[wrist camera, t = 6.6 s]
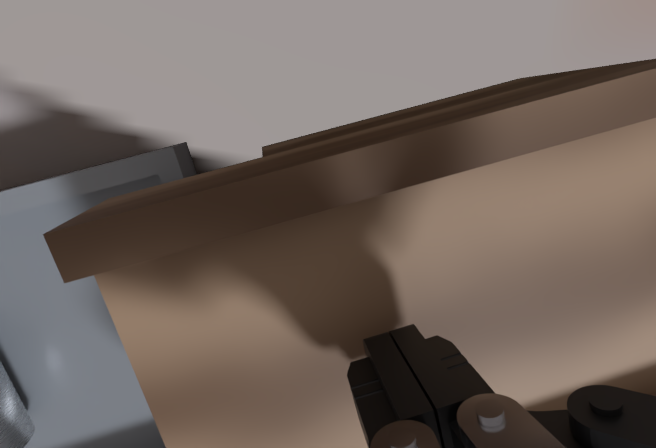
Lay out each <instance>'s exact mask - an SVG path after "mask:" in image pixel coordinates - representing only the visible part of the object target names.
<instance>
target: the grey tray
mask: <svg viewBox="0 0 656 448" xmlns="http://www.w3.org/2000/svg"><path fill="white" fill-rule="evenodd" d="M194 175H197V173H196V170H195V167H194V164H193V161H192V158H191V155H190V152H189V149H188V146H187V143H186V142H185V143H181V144H177V145H173V146H169V147H165V148H162V149H158V150H154V151H150V152H146V153H143V154H139V155H135V156H131V157H127V158H123V159H120V160H116V161H112V162H108V163H104V164H100V165H97V166H93V167H89V168H85V169H81V170H78V171H74V172H70V173H66V174H62V175H58V176H55V177H51V178H47V179H43V180H39V181H35V182H32V183H28V184H24V185H20V186H16V187H13V188H9V189H5V190H1V191H0V361H1V363H2V365H3V367H4V369H5V370H6V372H7V374H8V376H9V378H10V380H11V382H12V384H13V386H14V387H15V389H16V391H17V393H18V395H19V397H20V399H21V401H22V403H23V404H24V406H25V408H26V410H27V412H28V414H29V416H30V418H31V420H32V421H33V423H34V425H35V431H34V434H33V436H32V438H31V439H30V441H29V442H28V443H27V445H26V446H25V447H24V448H166V447H165V444H164V442H163V439H162V437H161V435H160V432H159V430H158V427H157V425H156V423H155V420H154V418H153V416H152V413H151V411H150V408H149V406H148V404H147V401H146V399H145V396H144V394H143V392H142V389H141V387H140V384H139V382H138V380H137V377H136V375H135V372H134V370H133V368H132V365H131V363H130V361H129V358H128V356H127V353H126V351H125V349H124V346H123V344H122V341H121V339H120V337H119V334H118V332H117V329H116V327H115V325H114V322H113V320H112V317H111V315H110V313H109V310H108V308H107V306H106V303H105V301H104V298H103V296H102V294H101V291H100V289H99V286H98V284H97V282H96V279H95V277H94V275H93V276H89V277H86V278H82V279H79V280H75V281H71V282H68V283H64V282H63V279H62V277H61V275H60V273H59V270H58V268H57V266H56V263H55V261H54V259H53V257H52V254H51V252H50V250H49V247H48V245H47V243H46V241H45V238H44V236H43V234H44V233H46V232H48V231H50V230H52V229H54V228H55V227H57V226H59V225H61V224H63V223H65V222H66V221H68V220H70V219H72V218H74V217H76V216H77V215H79V214H81V213H83V212H85V211H87V210H88V209H90V208H92V207H94V206H96V205H98V204H99V203H101V202H103V201H105V200H107V199H109V198H112V197H116V196H120V195H123V194H127V193H131V192H135V191H138V190H142V189H146V188H149V187H153V186H157V185H161V184H164V183H168V182H172V181H176V180H179V179H183V178H187V177H191V176H194Z"/></svg>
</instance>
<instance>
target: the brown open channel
mask: <svg viewBox="0 0 656 448" xmlns="http://www.w3.org/2000/svg"><path fill="white" fill-rule="evenodd" d="M262 151H263V152H262V153H263V157H262V158H258V159H254V160H250V161H247V162H243V163H239V164H235V165H232V166H228V167H224V168H220V169H217V170H213V171H209V172H205V173H202V174H198V175H194V176H191V177H187V178H183V179H179V180H176V181H172V182H168V183H164V184H161V185H157V186H153V187H149V188H146V189H142V190H138V191H135V192H131V193H127V194H123V195H120V196H116V197H112V198H109V199H107V200H105V201H103V202H101V203H99V204H98V205H96V206H94V207H92V208H90V209H88V210H87V211H85V212H83V213H81V214H79V215H77V216H76V217H74V218H72V219H70V220H68V221H66V222H65V223H63V224H61V225H59V226H57V227H55V228H54V229H52V230H50V231H48V232H46V233H44V234H43V236H44V238H45V241H46V243H47V245H48V247H49V250H50V252H51V254H52V257H53V259H54V261H55V263H56V266H57V268H58V270H59V273H60V275H61V277H62V279H63V282H64V283H68V282H71V281H75V280H79V279H82V278H86V277H89V276H93V275H94V277H95V279H96V282H97V284H98V286H99V289H100V291H101V294H102V296H103V298H104V301H105V303H106V306H107V308H108V310H109V313H110V315H111V317H112V320H113V322H114V325H115V327H116V329H117V332H118V334H119V337H120V339H121V341H122V344H123V346H124V349H125V351H126V353H127V356H128V358H129V361H130V363H131V365H132V368H133V370H134V372H135V375H136V377H137V380H138V382H139V384H140V387H141V389H142V392H143V394H144V396H145V399H146V401H147V404H148V406H149V408H150V411H151V413H152V416H153V418H154V420H155V423H156V425H157V427H158V430H159V432H160V435H161V437H162V439H163V442H164V444H165V447H166V448H368V446H367V443H366V440H365V436H364V434H363V430H362V427H361V424H360V421H359V418H358V414H357V410H356V407H355V403H354V399H353V396H352V392H351V389H350V385H349V381H348V378H347V373H348V369H349V366H350V362H353V361H356V360H359V359H363V358H366V357H367V356H366V353H365V349H364V345H363V339H366V338H369V337H372V336H375V335H379V334H382V333H385V332H388V333H389V331H391V330H395V329H398V328H401V327H404V326H408V325H411V324H414V325H415V326H416V327H417V329H418V330H419V331H420V333H421V334H422V335H423V337H424V338H425V339H427V338H430V337H433V336H436V335H438V336H440V337H442V338H444V339H446V340H449V341H451V342H452V343H453V344H454V345H455V346H456V347H457V349H458V350H459V351H460V352H461V354H462V355H463V356H464V357H465V358H466V359H467V360H468V362H469V364H471V365H472V366H473V367H474V369H475V370H476V371H477V372H478V373H479V375H480V376H481V377H482V378H483V379H484V380H485V382H486V383H487V384H488V385H489V386H490V388H491V389H492V390H493V391H494V392H495V393H496V394H501V395H504V396H507V397H510V398H512V399H514V400H515V401H517V402H518V403H519V404H520V405H521V406H522V407H523V408H524V409H525V410H528V411H552V410H567V400H568V397H569V396H570V394H571V393H573V392H574V391H575V390H577V389H579V388H582V387H585V386H590V385H608V386H614V387H618V388H622V389H627V390H631V391H635V392H640V393H644V394H648V395H653V396H656V59H652V60H644V61H637V62H630V63H623V64H616V65H609V66H602V67H596V68H589V69H582V70H575V71H568V72H561V73H554V74H547V75H541V76H533V77H526V78H520V79H516V80H512V81H508V82H505V83H501V84H497V85H493V86H490V87H486V88H483V89H478V90H474V91H471V92H467V93H463V94H459V95H456V96H452V97H448V98H445V99H441V100H437V101H433V102H429V103H426V104H422V105H418V106H415V107H411V108H407V109H403V110H399V111H396V112H392V113H388V114H384V115H380V116H377V117H373V118H369V119H366V120H362V121H358V122H355V123H351V124H347V125H343V126H339V127H336V128H332V129H328V130H325V131H321V132H317V133H313V134H309V135H305V136H301V137H298V138H294V139H290V140H287V141H283V142H279V143H275V144H271V145H268V146H264V147H262Z"/></svg>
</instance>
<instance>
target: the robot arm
mask: <svg viewBox="0 0 656 448" xmlns="http://www.w3.org/2000/svg"><path fill="white" fill-rule="evenodd" d="M363 345H364V349H365V353H366V356H367V357H366V358H363V359H359V360H356V361H353V362H350V366H349V369H348V373H347V378H348V381H349V385H350V389H351V392H352V396H353V399H354V403H355V407H356V410H357V414H358V418H359V421H360V424H361V427H362V430H363V434H364V436H365V440H366V443H367V446H368V448H656V396H653V395H648V394H644V393H640V392H635V391H631V390H627V389H622V388H618V387H614V386H608V385H590V386H585V387H582V388H579V389H577V390H575V391H574V392H573V393H571V394H570V396H569V397H568V400H567V410H552V411H528V410H525V409H524V408H523V407H522V406H521V405H520V404H519V403H518V402H517V401H515V400H514V399H512V398H510V397H507V396H504V395H501V394H496V393H495V392H494V391H493V390H492V389H491V388H490V386H489V385H488V384H487V383H486V382H485V380H484V379H483V378H482V377H481V376H480V375H479V373H478V372H477V371H476V370H475V369H474V367H473V366H472V365H471V364H469V362H468V360H467V359H466V358H465V357H464V356H463V355H462V354H461V352H460V351H459V350H458V349H457V347H456V346H455V345H454V344H453V343H452V342H451V341H449V340H446V339H444V338H442V337H440V336H438V335H436V336H433V337H430V338H427V339H425V338H424V337H423V335H422V334H421V333H420V331H419V330H418V329H417V327H416V326H415V325H414V324H411V325H408V326H404V327H401V328H398V329H395V330H391V331H389V333H388V332H385V333H382V334H379V335H375V336H372V337H369V338H366V339H363Z"/></svg>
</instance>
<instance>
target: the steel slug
mask: <svg viewBox="0 0 656 448" xmlns="http://www.w3.org/2000/svg"><path fill="white" fill-rule="evenodd" d="M34 431H35V425H34V423H33V421H32V420H31V418H30V416H29V414H28V412H27V410H26V408H25V406H24V404H23V403H22V401H21V399H20V397H19V395H18V393H17V391H16V389H15V387H14V386H13V384H12V382H11V380H10V378H9V376H8V374H7V372H6V370H5V369H4V367H3V365H2V363H1V361H0V448H24V447H25V446H26V445H27V443H28V442H29V441H30V439H31V438H32V436H33V434H34Z"/></svg>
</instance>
